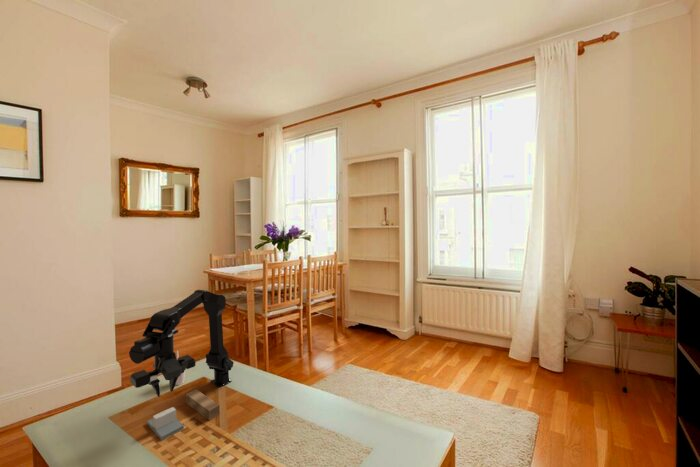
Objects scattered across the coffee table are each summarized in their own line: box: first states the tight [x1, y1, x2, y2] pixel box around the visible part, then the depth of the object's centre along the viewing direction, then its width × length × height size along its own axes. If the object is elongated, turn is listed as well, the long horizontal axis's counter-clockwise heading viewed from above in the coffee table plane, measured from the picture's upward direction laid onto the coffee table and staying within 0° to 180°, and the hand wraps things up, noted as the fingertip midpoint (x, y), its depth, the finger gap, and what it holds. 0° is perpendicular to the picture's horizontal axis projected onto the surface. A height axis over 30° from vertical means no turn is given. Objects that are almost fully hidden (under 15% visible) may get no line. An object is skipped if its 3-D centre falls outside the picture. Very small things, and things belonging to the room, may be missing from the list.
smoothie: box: [175, 350, 186, 386], centre depth 136 cm, size 6×6×14 cm
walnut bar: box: [185, 389, 220, 421], centre depth 120 cm, size 16×4×4 cm, turn 54°
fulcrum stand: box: [146, 406, 185, 441], centre depth 110 cm, size 12×7×5 cm, turn 52°
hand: (165, 393), depth 109 cm, fingers open, 4 cm apart
